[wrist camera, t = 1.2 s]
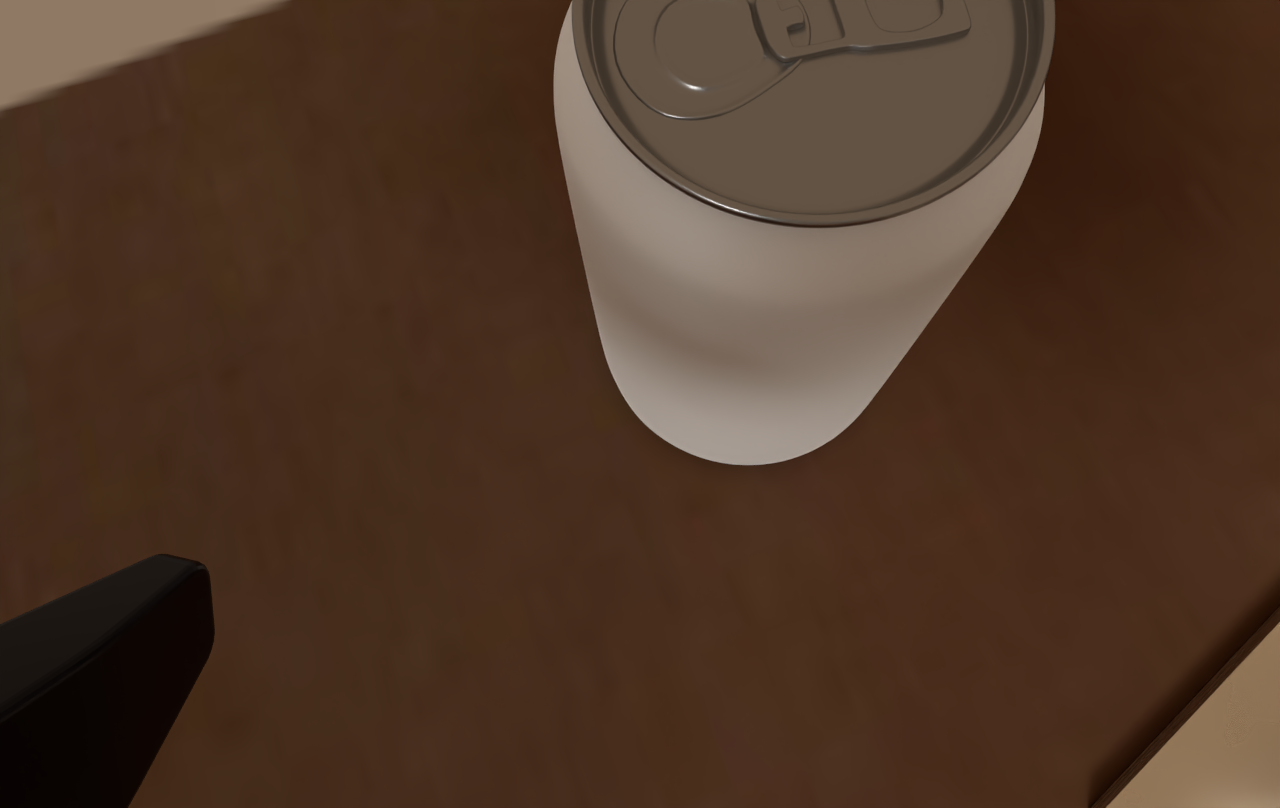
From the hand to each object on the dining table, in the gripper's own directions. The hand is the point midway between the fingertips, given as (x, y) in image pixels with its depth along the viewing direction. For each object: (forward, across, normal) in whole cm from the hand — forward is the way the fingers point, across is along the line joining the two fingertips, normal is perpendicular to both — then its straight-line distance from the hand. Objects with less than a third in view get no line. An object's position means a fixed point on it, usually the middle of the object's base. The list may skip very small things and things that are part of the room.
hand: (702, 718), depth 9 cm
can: (+15, 0, +4) cm, 16 cm away
